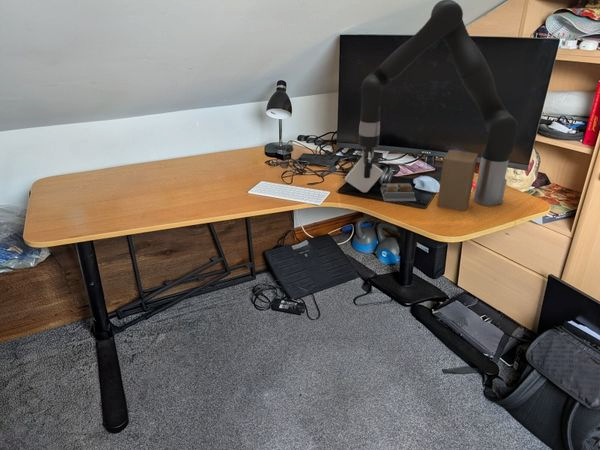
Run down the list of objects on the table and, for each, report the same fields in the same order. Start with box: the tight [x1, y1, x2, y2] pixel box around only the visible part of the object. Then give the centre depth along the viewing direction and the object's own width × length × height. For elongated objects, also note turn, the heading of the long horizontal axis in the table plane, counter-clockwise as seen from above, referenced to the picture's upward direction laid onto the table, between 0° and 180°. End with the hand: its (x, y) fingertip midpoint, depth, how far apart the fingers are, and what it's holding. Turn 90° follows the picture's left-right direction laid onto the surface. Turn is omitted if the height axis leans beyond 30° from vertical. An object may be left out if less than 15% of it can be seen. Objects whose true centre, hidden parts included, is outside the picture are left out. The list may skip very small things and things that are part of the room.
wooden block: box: [436, 149, 478, 212], centre depth 163 cm, size 10×10×20 cm
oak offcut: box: [386, 185, 398, 192], centre depth 173 cm, size 4×2×4 cm, turn 88°
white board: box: [344, 155, 384, 193], centre depth 175 cm, size 10×2×11 cm
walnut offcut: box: [399, 185, 413, 192], centre depth 173 cm, size 4×2×4 cm, turn 88°
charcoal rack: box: [380, 183, 417, 202], centre depth 175 cm, size 12×12×4 cm
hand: (366, 176), depth 175 cm, fingers closed on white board, 2 cm apart
